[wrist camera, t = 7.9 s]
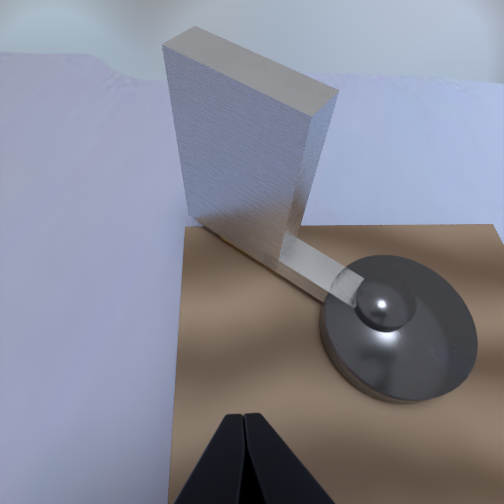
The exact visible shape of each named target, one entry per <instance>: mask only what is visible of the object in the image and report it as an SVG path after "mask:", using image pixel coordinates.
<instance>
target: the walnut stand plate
mask: <svg viewBox="0 0 504 504" xmlns="http://www.w3.org/2000/svg"><path fill="white" fill-rule="evenodd" d="M297 238H298V239H300V240H301V241H303V242H305V243H306V244H308V245H310V246H311V247H313V248H315V249H316V250H318V251H320V252H321V253H323V254H325V255H326V256H328V257H330V258H331V259H333V260H335V261H336V262H338V263H340V264H341V265H343V266H345V267H346V266H348V265H349V264H351V263H352V262H354V261H356V260H358V259H361V258H364V257H367V256H373V255H394V256H400V257H404V258H407V259H411V260H413V261H416V262H418V263H420V264H422V265H424V266H426V267H428V268H430V269H431V270H433V271H435V272H436V273H437V274H439V275H440V276H441V277H443V278H444V279H445V280H446V281H447V282H448V283H449V284H450V285H451V286H452V287H453V288H454V289H455V290H456V291H457V292H458V294H459V295H460V296H461V298H462V299H463V300H464V302H465V304H466V305H467V307H468V309H469V311H470V313H471V315H472V318H473V321H474V324H475V327H476V332H477V339H478V350H477V357H476V361H475V364H474V367H473V369H472V371H471V373H470V374H469V376H468V377H467V379H466V380H465V381H464V382H463V383H462V384H461V385H460V386H459V387H457V388H456V389H454V390H453V391H451V392H449V393H447V394H444V395H442V396H439V397H436V398H434V399H431V400H428V401H425V402H421V403H417V404H396V403H391V402H386V401H383V400H380V399H377V398H375V397H373V396H371V395H368V394H367V393H365V392H363V391H362V390H360V389H359V388H357V387H356V386H355V385H353V384H352V383H351V382H350V381H349V380H348V379H346V378H345V377H344V376H343V375H342V374H341V372H340V371H339V370H338V369H337V367H336V366H335V365H334V363H333V361H332V360H331V358H330V357H329V355H328V353H327V350H326V348H325V346H324V343H323V340H322V336H321V331H320V311H321V306H322V303H323V302H321V301H320V300H318V299H317V298H315V297H314V296H312V295H311V294H309V293H308V292H306V291H304V290H303V289H301V288H300V287H298V286H297V285H295V284H294V283H292V282H291V281H289V280H287V279H286V278H284V277H282V276H281V275H279V274H278V273H276V272H275V271H273V270H271V269H270V268H268V267H267V266H265V265H263V264H262V263H260V262H259V261H257V260H255V259H254V258H252V257H251V256H249V255H248V254H246V253H244V252H243V251H241V250H240V249H238V248H236V247H235V246H233V245H232V244H230V243H228V242H227V241H225V240H224V239H222V238H221V236H220V235H218V234H216V233H215V232H213V231H212V230H210V229H209V228H207V227H185V238H184V254H183V270H182V286H181V302H180V317H179V333H178V349H177V365H176V381H175V397H174V413H173V429H172V445H171V461H170V477H169V493H168V504H173V503H174V501H175V499H176V498H177V496H178V494H179V493H180V491H181V489H182V488H183V486H184V484H185V482H186V481H187V479H188V477H189V476H190V474H191V472H192V470H193V469H194V467H195V465H196V464H197V462H198V460H199V459H200V457H201V455H202V453H203V452H204V450H205V448H206V447H207V445H208V443H209V441H210V440H211V438H212V436H213V435H214V433H215V431H216V430H217V428H218V426H219V424H220V423H221V421H222V419H223V418H224V416H225V415H226V414H238V413H240V414H242V415H244V414H245V413H261V414H262V415H263V416H264V418H265V419H266V420H267V421H268V422H269V424H270V425H271V426H272V427H273V428H274V430H275V431H276V432H277V433H278V434H279V436H280V437H281V438H282V439H283V440H284V442H285V443H286V444H287V445H288V447H289V448H290V449H291V450H292V451H293V453H294V454H295V455H296V456H297V457H298V459H299V460H300V461H301V462H302V463H303V465H304V466H305V467H306V468H307V469H308V471H309V472H310V473H311V474H312V476H313V477H314V478H315V479H316V480H317V482H318V483H319V484H320V485H321V486H322V488H323V489H324V490H325V491H326V492H327V494H328V495H329V496H330V497H331V498H332V500H333V501H334V502H335V503H336V504H504V245H503V243H502V241H501V239H500V237H499V235H498V233H497V231H496V229H495V227H494V226H493V224H459V225H333V226H300V228H299V231H298V235H297Z"/></svg>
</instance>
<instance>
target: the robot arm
mask: <svg viewBox="0 0 504 504" xmlns="http://www.w3.org/2000/svg"><path fill="white" fill-rule="evenodd" d="M173 504H336V503H335V502H334V501H333V500H332V498H331V497H330V496H329V495H328V494H327V492H326V491H325V490H324V489H323V488H322V486H321V485H320V484H319V483H318V482H317V480H316V479H315V478H314V477H313V476H312V474H311V473H310V472H309V471H308V469H307V468H306V467H305V466H304V465H303V463H302V462H301V461H300V460H299V459H298V457H297V456H296V455H295V454H294V453H293V451H292V450H291V449H290V448H289V447H288V445H287V444H286V443H285V442H284V440H283V439H282V438H281V437H280V436H279V434H278V433H277V432H276V431H275V430H274V428H273V427H272V426H271V425H270V424H269V422H268V421H267V420H266V419H265V418H264V416H263V415H262V414H261V413H245V414H244V415H242V414H240V413H238V414H226V415H225V416H224V418H223V419H222V421H221V423H220V424H219V426H218V428H217V430H216V431H215V433H214V435H213V436H212V438H211V440H210V441H209V443H208V445H207V447H206V448H205V450H204V452H203V453H202V455H201V457H200V459H199V460H198V462H197V464H196V465H195V467H194V469H193V470H192V472H191V474H190V476H189V477H188V479H187V481H186V482H185V484H184V486H183V488H182V489H181V491H180V493H179V494H178V496H177V498H176V499H175V501H174V503H173Z"/></svg>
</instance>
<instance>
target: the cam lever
mask: <svg viewBox="0 0 504 504" xmlns="http://www.w3.org/2000/svg"><path fill="white" fill-rule="evenodd" d="M162 48H163V55H164V61H165V67H166V74H167V80H168V87H169V93H170V99H171V106H172V112H173V118H174V125H175V131H176V138H177V144H178V150H179V157H180V163H181V169H182V176H183V182H184V188H185V195H186V201H187V208H188V214H189V216H190V217H192V218H193V219H195V220H196V221H198V222H199V223H201V224H203V225H204V226H206V227H207V228H209V229H210V230H212V231H213V232H215V233H216V234H218V235H220V236H221V237H223V238H224V239H226V240H227V241H229V242H230V243H232V244H233V245H235V246H237V247H238V248H240V249H241V250H243V251H244V252H246V253H247V254H249V255H250V256H252V257H254V258H255V259H257V260H258V261H260V262H261V263H263V264H264V265H266V266H267V267H269V268H270V269H272V270H274V271H275V272H277V273H278V274H280V275H281V276H283V277H284V278H286V279H287V280H289V281H291V282H292V283H294V284H295V285H297V286H298V287H300V288H301V289H303V290H304V291H306V292H308V293H309V294H311V295H312V296H314V297H315V298H317V299H318V300H320V301H321V302H323V303H322V306H321V311H320V331H321V336H322V340H323V343H324V346H325V348H326V350H327V353H328V355H329V357H330V358H331V360H332V361H333V363H334V365H335V366H336V367H337V369H338V370H339V371H340V372H341V374H342V375H343V376H344V377H345V378H346V379H348V380H349V381H350V382H351V383H352V384H353V385H355V386H356V387H357V388H359V389H360V390H362V391H363V392H365V393H367V394H368V395H371V396H373V397H375V398H377V399H380V400H383V401H386V402H391V403H396V404H417V403H421V402H425V401H428V400H431V399H434V398H436V397H439V396H442V395H444V394H447V393H449V392H451V391H453V390H454V389H456V388H457V387H459V386H460V385H461V384H462V383H463V382H464V381H465V380H466V379H467V377H468V376H469V374H470V373H471V371H472V369H473V367H474V364H475V361H476V357H477V350H478V339H477V332H476V327H475V324H474V321H473V318H472V315H471V313H470V311H469V309H468V307H467V305H466V304H465V302H464V300H463V299H462V298H461V296H460V295H459V294H458V292H457V291H456V290H455V289H454V288H453V287H452V286H451V285H450V284H449V283H448V282H447V281H446V280H445V279H444V278H443V277H441V276H440V275H439V274H437V273H436V272H435V271H433V270H431V269H430V268H428V267H426V266H424V265H422V264H420V263H418V262H416V261H413V260H411V259H407V258H404V257H400V256H394V255H373V256H367V257H364V258H361V259H358V260H356V261H354V262H352V263H351V264H349V265H348V266H346V267H345V266H343V265H341V264H340V263H338V262H336V261H335V260H333V259H331V258H330V257H328V256H326V255H325V254H323V253H321V252H320V251H318V250H316V249H315V248H313V247H311V246H310V245H308V244H306V243H305V242H303V241H301V240H300V239H298V238H297V235H298V231H299V228H300V225H301V221H302V218H303V214H304V211H305V207H306V204H307V200H308V197H309V193H310V190H311V187H312V183H313V180H314V176H315V173H316V169H317V166H318V162H319V159H320V155H321V152H322V149H323V145H324V142H325V138H326V135H327V131H328V128H329V124H330V121H331V117H332V114H333V111H334V107H335V104H336V100H337V97H338V93H339V90H337V89H335V88H332V87H330V86H328V85H326V84H324V83H321V82H319V81H317V80H315V79H312V78H310V77H308V76H306V75H303V74H301V73H299V72H296V71H294V70H292V69H290V68H288V67H286V66H283V65H281V64H279V63H277V62H274V61H272V60H270V59H268V58H265V57H263V56H261V55H259V54H256V53H254V52H252V51H250V50H248V49H245V48H243V47H241V46H239V45H236V44H234V43H231V42H230V41H228V40H225V39H223V38H221V37H219V36H216V35H214V34H212V33H209V32H207V31H205V30H203V29H200V28H198V27H196V26H194V27H192V28H191V29H189V30H187V31H185V32H183V33H182V34H180V35H178V36H176V37H174V38H173V39H171V40H169V41H167V42H165V43H164V44H162Z"/></svg>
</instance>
